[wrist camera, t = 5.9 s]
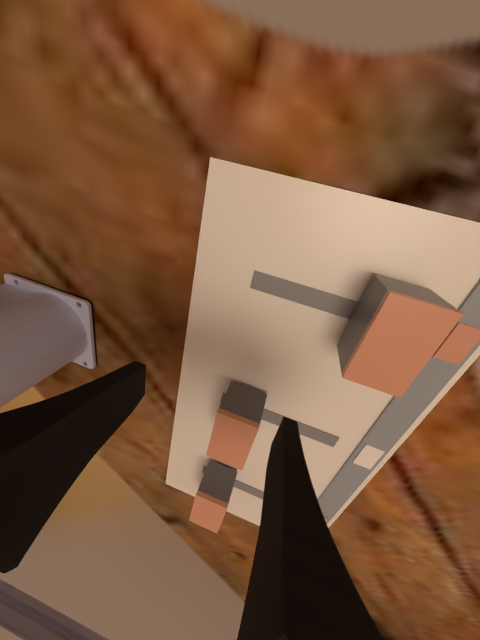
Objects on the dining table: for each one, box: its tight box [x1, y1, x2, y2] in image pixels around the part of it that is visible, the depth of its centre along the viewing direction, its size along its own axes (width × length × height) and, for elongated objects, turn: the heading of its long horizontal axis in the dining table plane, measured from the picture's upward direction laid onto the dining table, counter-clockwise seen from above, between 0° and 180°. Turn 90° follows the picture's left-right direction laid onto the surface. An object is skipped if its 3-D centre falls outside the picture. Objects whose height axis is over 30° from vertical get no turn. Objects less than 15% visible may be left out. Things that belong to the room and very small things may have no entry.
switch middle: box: [206, 381, 267, 470], centre depth 19 cm, size 3×5×3 cm, turn 167°
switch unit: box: [166, 157, 480, 528], centre depth 21 cm, size 18×34×2 cm, turn 167°
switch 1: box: [189, 460, 237, 533], centre depth 24 cm, size 3×5×3 cm, turn 167°
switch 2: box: [337, 273, 464, 398], centre depth 13 cm, size 3×5×3 cm, turn 167°
